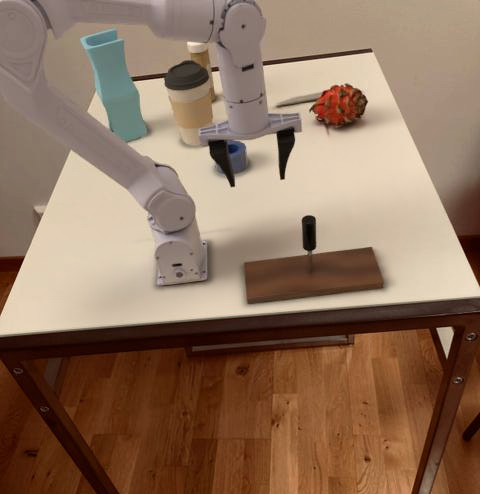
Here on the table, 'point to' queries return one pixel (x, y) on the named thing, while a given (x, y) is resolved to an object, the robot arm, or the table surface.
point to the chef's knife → (302, 99)
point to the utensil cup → (236, 156)
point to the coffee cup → (189, 99)
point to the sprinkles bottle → (202, 61)
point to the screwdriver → (309, 237)
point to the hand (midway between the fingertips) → (257, 179)
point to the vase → (115, 84)
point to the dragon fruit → (340, 105)
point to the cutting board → (312, 275)
